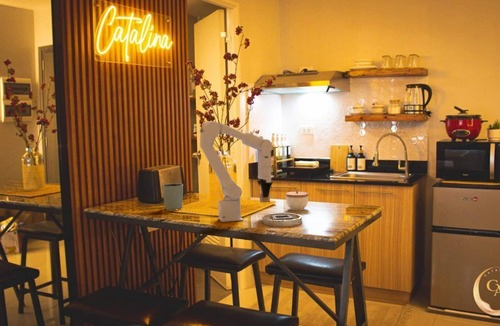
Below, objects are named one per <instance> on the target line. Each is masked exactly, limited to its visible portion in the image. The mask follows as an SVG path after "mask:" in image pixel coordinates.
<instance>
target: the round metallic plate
mask: <svg viewBox="0 0 500 326" xmlns="http://www.w3.org/2000/svg"><path fill="white" fill-rule="evenodd" d="M261 220H262V224H264V225H265V226H270V227H280V228H283V227H284V228H285V226H287V227H295V226H299V224H300V225H301V224H302V223H303V216H302V215H300V214H298V213H293V212H274V213H267V214H264V215H263V216H262V219H261Z"/></svg>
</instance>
